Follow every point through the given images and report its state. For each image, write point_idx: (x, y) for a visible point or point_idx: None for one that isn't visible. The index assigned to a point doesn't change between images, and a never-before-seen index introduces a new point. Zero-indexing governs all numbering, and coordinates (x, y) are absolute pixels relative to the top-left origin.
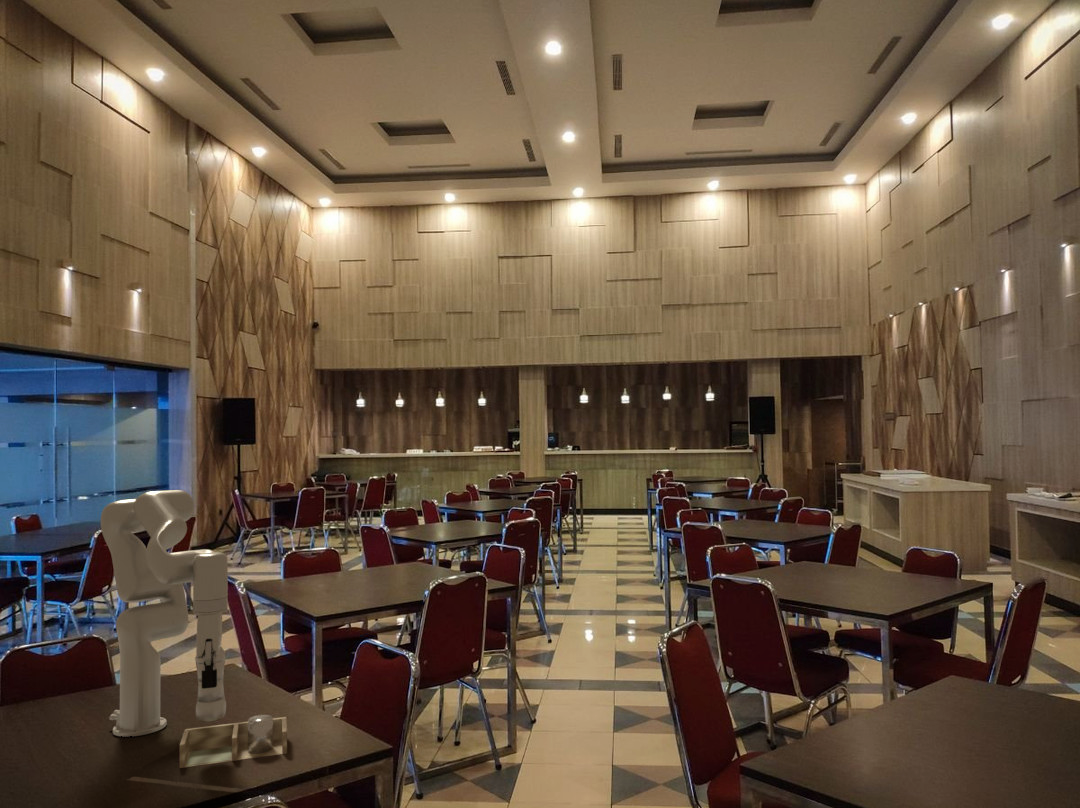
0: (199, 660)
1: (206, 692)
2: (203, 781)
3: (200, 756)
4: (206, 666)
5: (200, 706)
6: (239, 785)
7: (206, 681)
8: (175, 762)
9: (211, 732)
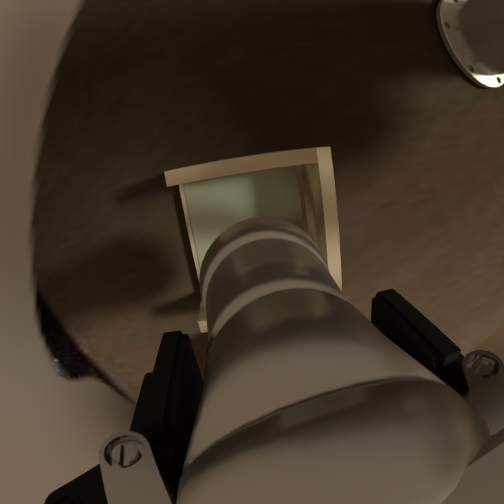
0: (191, 496)
1: (208, 326)
2: (106, 248)
3: (247, 204)
4: (86, 490)
5: (209, 263)
6: (86, 325)
7: (146, 390)
8: (249, 137)
9: (320, 229)
